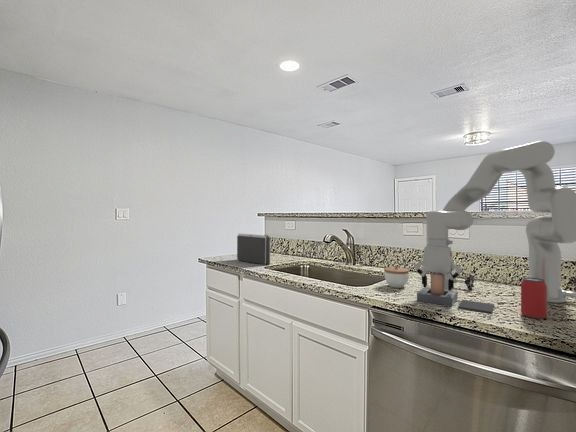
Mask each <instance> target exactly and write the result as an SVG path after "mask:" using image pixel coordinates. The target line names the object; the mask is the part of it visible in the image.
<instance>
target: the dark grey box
mask: <svg viewBox="0 0 576 432" xmlns="http://www.w3.org/2000/svg"><path fill="white" fill-rule="evenodd" d="M236 240H237V241H236V245H237V246H236V251H237V252H236V254H237V255H236V258H237V260H238V261H241V260H242V261H241V262H246V263H253V264H259V263H260V265H266V264H268V265H271V234H269V233H268V232H265V234H263V235H262V234H251V233H238V234H237V236H236Z"/></svg>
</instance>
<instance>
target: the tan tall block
mask: <svg viewBox="0 0 576 432" xmlns="http://www.w3.org/2000/svg"><path fill="white" fill-rule="evenodd" d="M430 287H431V293H432V294H440V295H444V288H445V274H442V273H434V272H430Z"/></svg>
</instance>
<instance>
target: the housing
mask: <svg viewBox="0 0 576 432" xmlns="http://www.w3.org/2000/svg"><path fill="white" fill-rule="evenodd" d="M457 300H458V290H453V289H452V290H451V291H449V290H446V289H444V295H440V294H432V293H431V286H426V287H423V288H421V289H420V290H419V291H418V292H417V293H416V301H417V302H422V303H428V304H434V305H442V306H448V307H453V306H454V305H455V303H456V302H457ZM453 304H454V305H453Z"/></svg>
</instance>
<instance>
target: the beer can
mask: <svg viewBox="0 0 576 432" xmlns="http://www.w3.org/2000/svg"><path fill="white" fill-rule="evenodd" d="M520 283H521V284H520V313H521V315H523V316H525V317H527V318H531V319H537V320H539V319H540V320H541V319H542V320H543V319H547V317H548V302H547V286H546V283H545V280H543V279H540V278H532V277H529V276H528V277H527V276H526V277H525V276H524V277H523V278H522V281H521V282H520Z"/></svg>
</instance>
